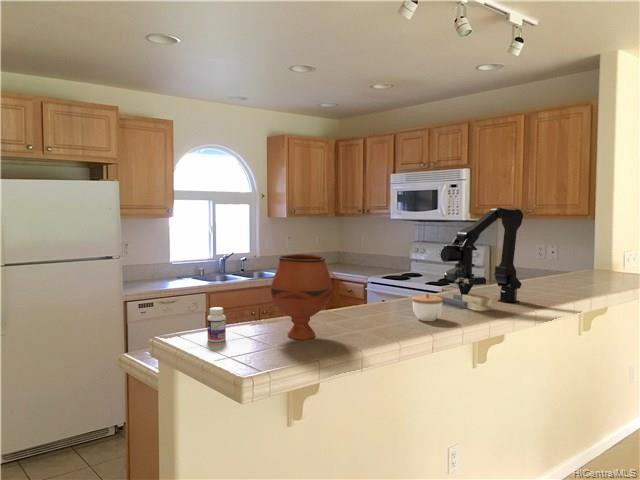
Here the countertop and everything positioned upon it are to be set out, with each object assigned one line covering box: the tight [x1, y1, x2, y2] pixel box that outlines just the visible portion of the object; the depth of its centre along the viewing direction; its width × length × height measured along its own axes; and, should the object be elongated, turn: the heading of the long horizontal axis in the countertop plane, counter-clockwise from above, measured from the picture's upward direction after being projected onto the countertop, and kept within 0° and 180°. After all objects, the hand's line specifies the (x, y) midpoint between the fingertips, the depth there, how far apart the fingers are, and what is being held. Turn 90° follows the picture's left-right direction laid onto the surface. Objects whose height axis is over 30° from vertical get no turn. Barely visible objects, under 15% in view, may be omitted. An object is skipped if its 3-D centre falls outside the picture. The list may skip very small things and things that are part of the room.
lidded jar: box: [411, 292, 443, 322], centre depth 185 cm, size 11×11×9 cm
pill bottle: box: [206, 306, 227, 343], centre depth 154 cm, size 5×5×10 cm
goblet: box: [270, 253, 333, 340], centre depth 159 cm, size 19×19×25 cm
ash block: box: [462, 292, 493, 312], centre depth 206 cm, size 6×10×5 cm, turn 28°
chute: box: [436, 293, 468, 310], centre depth 214 cm, size 15×16×2 cm
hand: (463, 298), depth 211 cm, fingers closed
